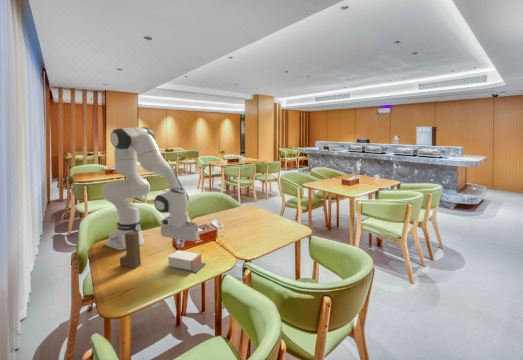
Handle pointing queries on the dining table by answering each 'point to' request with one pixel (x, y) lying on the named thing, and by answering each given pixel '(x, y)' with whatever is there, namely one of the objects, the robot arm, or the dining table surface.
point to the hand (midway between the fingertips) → (180, 246)
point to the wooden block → (131, 251)
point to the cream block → (185, 260)
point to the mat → (191, 270)
